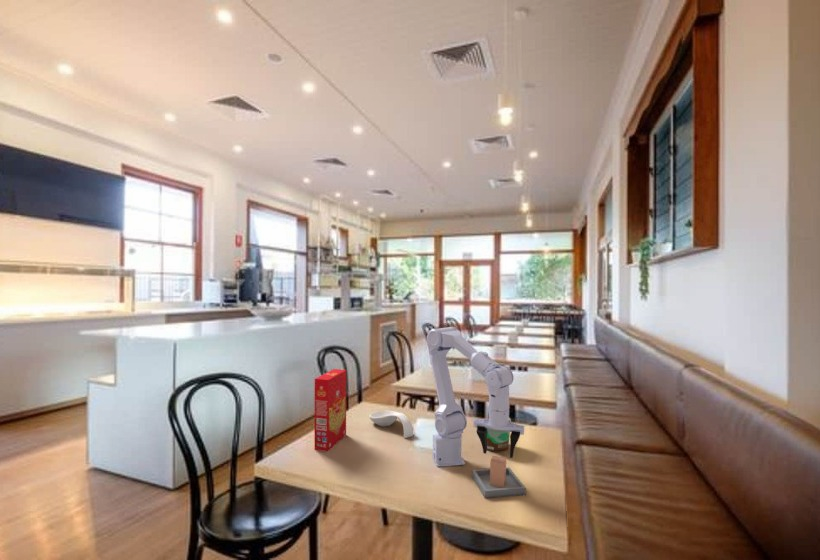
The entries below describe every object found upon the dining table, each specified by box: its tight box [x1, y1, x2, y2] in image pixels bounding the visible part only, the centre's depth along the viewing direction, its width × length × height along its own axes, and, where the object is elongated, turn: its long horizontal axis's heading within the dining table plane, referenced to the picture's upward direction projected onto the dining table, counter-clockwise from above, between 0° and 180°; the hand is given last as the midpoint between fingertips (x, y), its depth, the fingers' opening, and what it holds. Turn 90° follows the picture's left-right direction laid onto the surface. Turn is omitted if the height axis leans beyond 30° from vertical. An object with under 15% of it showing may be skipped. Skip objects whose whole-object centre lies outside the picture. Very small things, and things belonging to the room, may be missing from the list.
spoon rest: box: [369, 409, 414, 439], centre depth 162 cm, size 24×12×7 cm, turn 38°
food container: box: [487, 417, 513, 453], centre depth 143 cm, size 12×6×10 cm, turn 129°
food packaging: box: [314, 368, 347, 452], centre depth 148 cm, size 15×5×25 cm, turn 164°
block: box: [489, 455, 507, 488], centre depth 119 cm, size 4×4×7 cm
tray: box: [471, 466, 527, 499], centre depth 119 cm, size 12×12×2 cm
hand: (498, 454), depth 119 cm, fingers open, 7 cm apart
